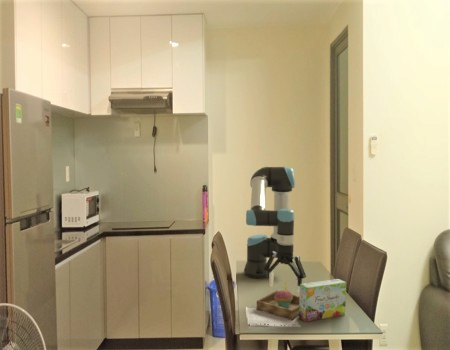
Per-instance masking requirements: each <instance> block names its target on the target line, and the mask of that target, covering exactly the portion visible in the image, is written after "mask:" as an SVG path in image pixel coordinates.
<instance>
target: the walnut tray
mask: <svg viewBox="0 0 450 350" xmlns="http://www.w3.org/2000/svg"><path fill="white" fill-rule="evenodd" d="M278 291H279V290H275V291H273V292H271V293H269V294H267V295H266V296H264V297H262V298H259V299H258V300H257V301H256V311H260V312H264V313H267V314H271V315H273V316H277V317H280V318H284V319H286V318H287V320H290V319H291V321H294V320H295V319H296V318H299V299H300V295H296V294H292V295H293V299H292V300H291V302H290V306H289V307H288V308H284V307H280V306H279V305H278V302H277V300H275V299H274V295H275V293H277V292H278Z"/></svg>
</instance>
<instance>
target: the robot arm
mask: <svg viewBox="0 0 450 350" xmlns="http://www.w3.org/2000/svg"><path fill="white" fill-rule="evenodd" d="M295 180H296V179H295V174H294V169H293V168H292V167H286V166H264V167H262V168H260V169H258V170H256V171H255V172H254V173H253V174H252V176H251V178H250V183H249V185H250V188H251V197H250V199H251V200H250V209H248V210H246V211H245V212H246V213H245V224H246V225H247V226H254V227H273V231H272V233H271V234H270V237H268V235H267V234H255V235H251V236H249V237H248V238H247V243H246V246H247V248H246V263H245V265H244V269H243V275H244V276H245V277H247V278H251V279H263V278H267V279H269V280H268V283H269V284H268V285H269V286H268V287H270V288H271V287H273V286H274V282H275V281H274V278H275V275H274V274H275V273H274V271H273V270H274V269H276V267H277V266H278V265H279V264H284V265H288V266H289V268H290V269H291V270H292V272H293V274H294V275H295V277H296V278H295V295H296V294H300V284H303V279H305V278H306V277H307V274H306V272H305V270H304V268H303V265H302V262H301V256H300V255H294V243H295V241H294V239H295V238H294V233H295V232H294V230H295V229H294V227H295V212H294V210H293V209H290V194H291V193H292V192H293V189H294V188H296V187H295V186H296V181H295ZM267 188H271V191H272V192H273V195H274V196H273V210H270V209H269V210H268V209H266V208H267V207H266V206H267V203H266V199H267V197H266V195H267V191H266V189H267ZM267 258H268V260H267ZM274 259H276V260H275V262H274V263H273V261H274Z"/></svg>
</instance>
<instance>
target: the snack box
mask: <svg viewBox="0 0 450 350" xmlns="http://www.w3.org/2000/svg"><path fill="white" fill-rule="evenodd" d="M299 296H300V299H299V316H298V318H299V319H301V320H302V321H303V322H305V323H307V322H312V321H316V320H317V321H318V320H323V319H329V318H335V317H340V316H345V315H346V304H347V303H346V301H347V298H346V297H347V281H344V280H342V279H340V278H335V279H334V278H333V279H328V280H320V281H311V282H306V283H305V282H304V283H303V282H302V284H300V292H299Z"/></svg>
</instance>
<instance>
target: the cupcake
mask: <svg viewBox="0 0 450 350" xmlns="http://www.w3.org/2000/svg"><path fill="white" fill-rule="evenodd" d="M287 284H288V281H287V280H286V281H285V287H284V290H282V289H281V290H277V291H278V292H277V293H275V295H274V299H275V300H277V302H278V305H279V306H280V307H284V308H288V307H289V306H290V302H291V300H292V299H293V295H294V294H293V293H292V292H291V291H288V290H287V286H288V285H287Z"/></svg>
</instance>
